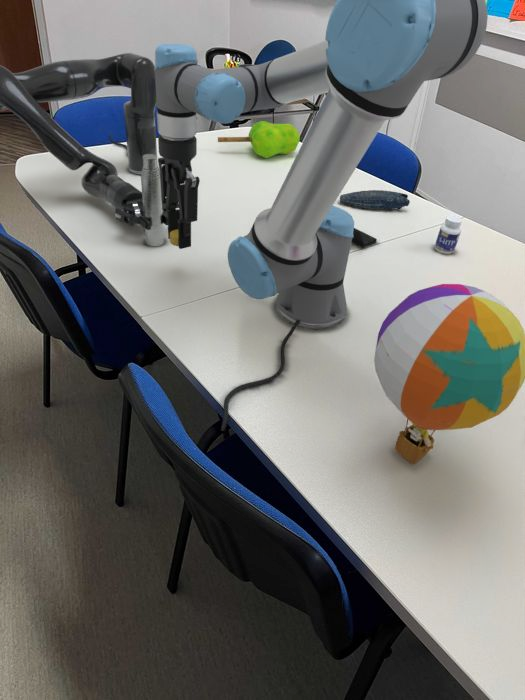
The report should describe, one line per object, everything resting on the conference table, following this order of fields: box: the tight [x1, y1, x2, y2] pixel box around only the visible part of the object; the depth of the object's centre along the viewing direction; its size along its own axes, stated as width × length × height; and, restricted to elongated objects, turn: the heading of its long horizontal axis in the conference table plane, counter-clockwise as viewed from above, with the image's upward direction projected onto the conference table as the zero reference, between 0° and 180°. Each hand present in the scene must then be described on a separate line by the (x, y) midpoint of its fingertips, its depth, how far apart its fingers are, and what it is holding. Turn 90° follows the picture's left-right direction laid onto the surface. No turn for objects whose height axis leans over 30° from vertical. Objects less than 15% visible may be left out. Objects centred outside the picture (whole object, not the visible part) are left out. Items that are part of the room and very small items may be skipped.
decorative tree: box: [217, 120, 301, 159], centre depth 187 cm, size 18×10×30 cm
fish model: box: [339, 189, 411, 211], centre depth 158 cm, size 7×21×5 cm, turn 84°
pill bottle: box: [434, 215, 463, 255], centre depth 137 cm, size 5×5×9 cm
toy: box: [373, 283, 525, 466], centre depth 73 cm, size 20×20×30 cm
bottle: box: [140, 154, 165, 247], centre depth 125 cm, size 4×4×22 cm
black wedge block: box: [351, 227, 378, 249], centre depth 139 cm, size 12×7×10 cm
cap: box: [169, 229, 179, 247], centre depth 116 cm, size 4×4×2 cm
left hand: (158, 223), depth 126 cm, fingers closed on bottle, 4 cm apart
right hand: (179, 242), depth 117 cm, fingers closed on cap, 4 cm apart
